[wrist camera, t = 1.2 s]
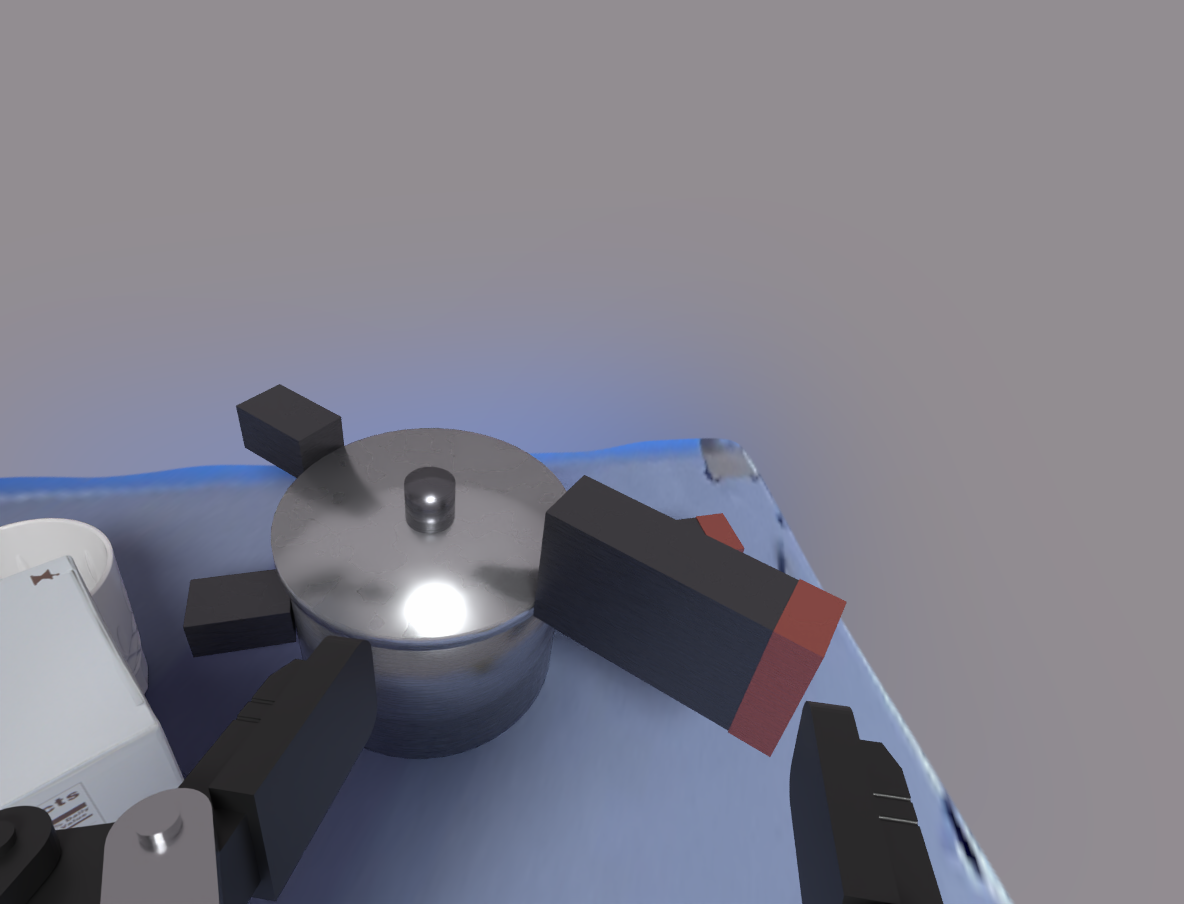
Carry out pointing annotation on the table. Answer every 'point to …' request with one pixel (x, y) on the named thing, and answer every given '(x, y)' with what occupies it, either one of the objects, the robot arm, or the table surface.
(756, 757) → the table surface
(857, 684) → the table surface
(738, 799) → the table surface
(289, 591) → the lid
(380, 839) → the table surface
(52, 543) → the white cup
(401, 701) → the pot
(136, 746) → the supplement box
